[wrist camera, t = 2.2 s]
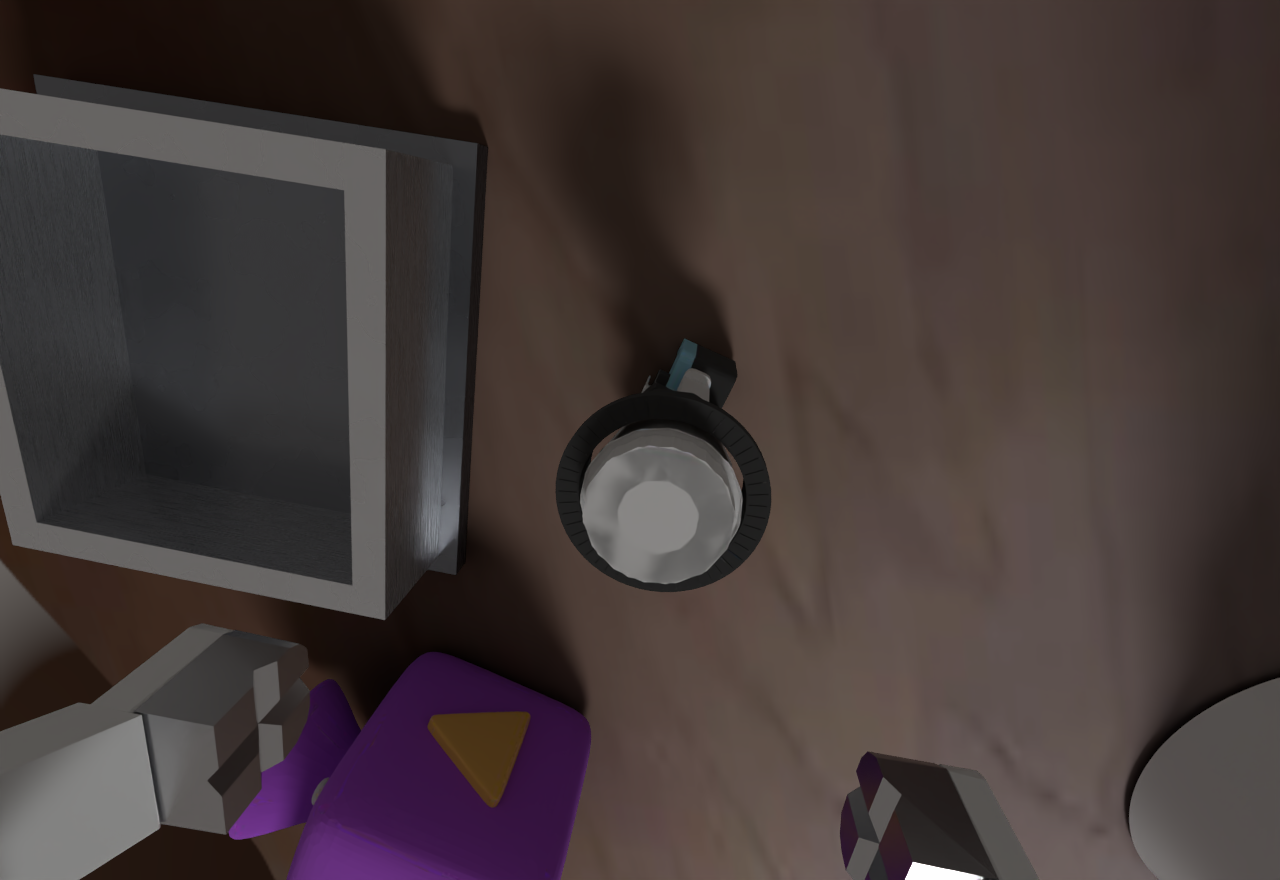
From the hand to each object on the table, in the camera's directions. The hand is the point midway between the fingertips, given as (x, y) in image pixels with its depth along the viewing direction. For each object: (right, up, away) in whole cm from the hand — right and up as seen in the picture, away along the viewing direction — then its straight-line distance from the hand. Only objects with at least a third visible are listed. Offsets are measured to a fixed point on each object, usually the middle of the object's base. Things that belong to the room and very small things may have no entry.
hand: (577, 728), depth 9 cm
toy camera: (-8, -10, +22) cm, 25 cm away
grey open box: (-14, +8, +16) cm, 22 cm away
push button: (+2, +5, +15) cm, 16 cm away
